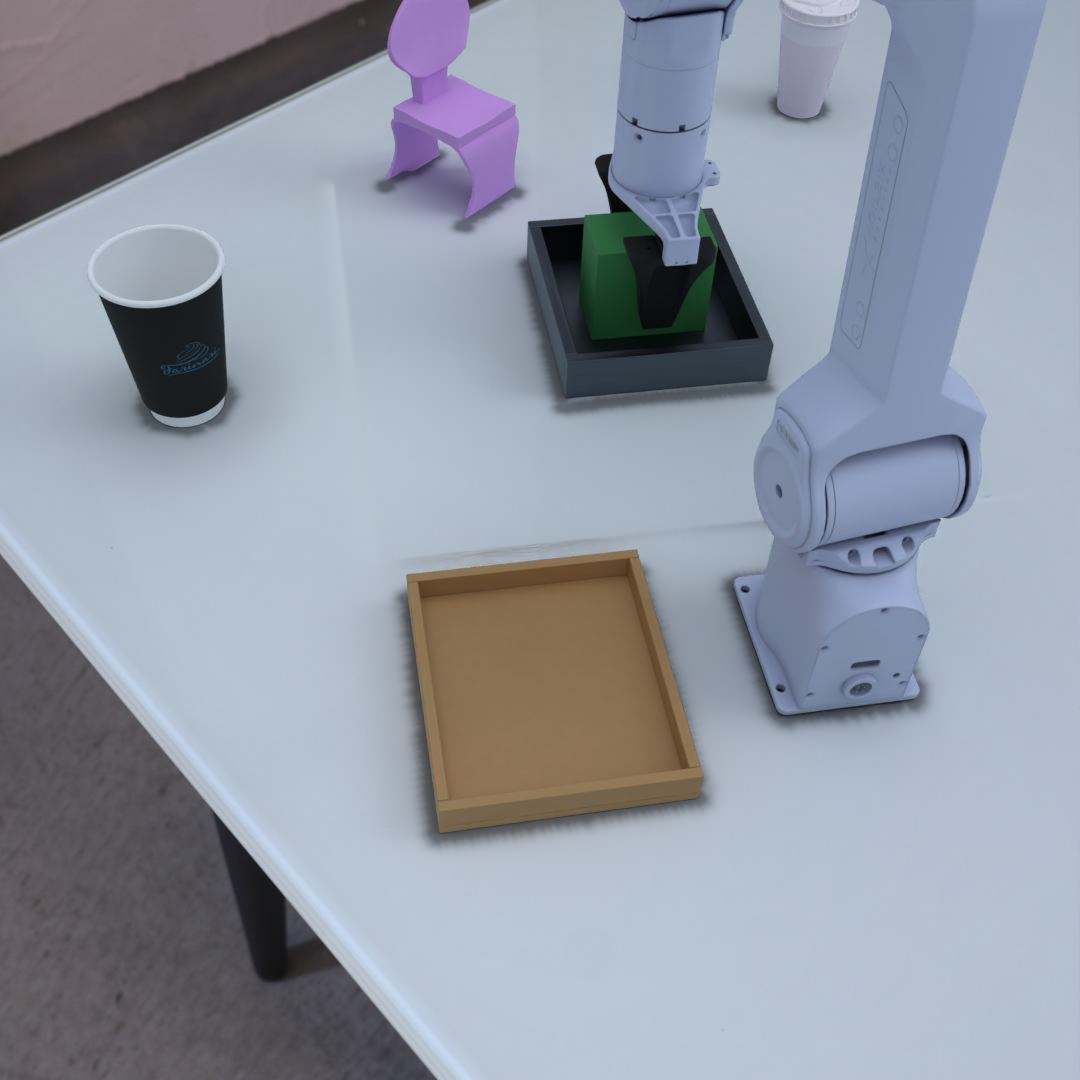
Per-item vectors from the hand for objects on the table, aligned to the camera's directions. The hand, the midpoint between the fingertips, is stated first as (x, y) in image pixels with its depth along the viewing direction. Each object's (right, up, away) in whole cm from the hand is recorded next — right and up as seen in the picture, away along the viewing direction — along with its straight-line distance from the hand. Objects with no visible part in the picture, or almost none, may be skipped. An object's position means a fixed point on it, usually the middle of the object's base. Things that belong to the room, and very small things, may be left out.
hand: (643, 289), depth 90 cm
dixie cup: (-30, -8, -5) cm, 31 cm away
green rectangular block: (0, -1, +2) cm, 2 cm away
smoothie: (+15, +20, +23) cm, 34 cm away
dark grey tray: (0, -2, +2) cm, 3 cm away
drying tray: (-7, -25, -19) cm, 32 cm away
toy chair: (-14, +10, +13) cm, 21 cm away
